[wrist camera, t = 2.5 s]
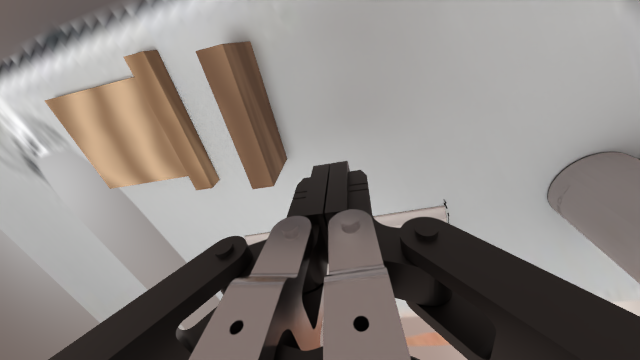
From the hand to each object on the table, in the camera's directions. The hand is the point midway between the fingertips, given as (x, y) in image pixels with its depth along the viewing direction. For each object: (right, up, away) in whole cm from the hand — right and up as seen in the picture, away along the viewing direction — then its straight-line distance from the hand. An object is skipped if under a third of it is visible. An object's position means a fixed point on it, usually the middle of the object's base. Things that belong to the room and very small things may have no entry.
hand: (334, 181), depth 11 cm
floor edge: (-25, +6, +22) cm, 34 cm away
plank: (-8, +9, +19) cm, 22 cm away
